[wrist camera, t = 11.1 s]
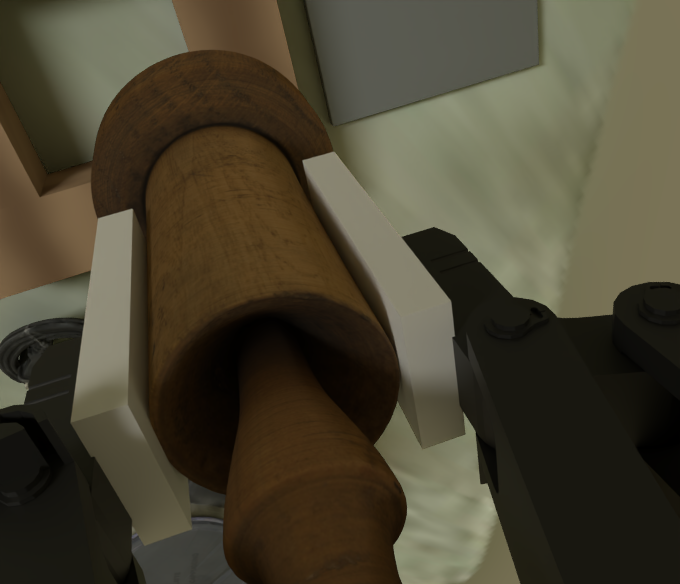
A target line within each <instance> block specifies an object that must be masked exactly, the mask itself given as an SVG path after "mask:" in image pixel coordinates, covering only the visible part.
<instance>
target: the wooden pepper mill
mask: <svg viewBox="0 0 680 584" xmlns="http://www.w3.org/2000/svg"><path fill="white" fill-rule="evenodd" d="M331 152H333V149H332V145H331V142H330V139H329V137H328V134H327V132H326V130H325V128H324V125H323V124H322V122H321V120H320V118H319V117H318V115H317V114H316V112H315V111H314V110H313V108H312V107H311V106H310V104H309V103H308V102H307V100H306V99H305V97H304V96H303V95H302V94H301V92H300V91H299V90H298V89H297V88H296V87H295V86H294V84H293V83H292V82H290V81H289V80H288V79H287V78H286V77H285V76H284V75H282V74H281V73H280V72H278V71H277V70H276V69H274V68H272V67H271V66H269V65H267V64H266V63H264V62H262V61H260V60H258V59H255V58H253V57H250V56H247V55H244V54H241V53H237V52H232V51H225V50H198V51H191V52H187V53H182V54H178V55H175V56H172V57H170V58H167V59H164V60H162V61H160V62H158V63H156V64H154V65H152V66H150V67H148V68H147V69H145V70H144V71H142V72H141V73H139V74H138V75H137V76H135V77H134V78H133V79H132V80H131V81H130V82H128V83H127V84H126V85H125V86H124V87H123V88H122V89H121V91H120V92H119V93H118V94H117V95H116V97H115V98H114V100H113V101H112V102H111V104H110V106H109V107H108V109H107V111H106V113H105V115H104V117H103V119H102V122H101V124H100V127H99V130H98V134H97V138H96V143H95V148H94V155H93V162H92V169H91V193H92V200H93V205H94V209H95V213H96V216H97V219H98V218H101V217H105V216H108V215H112V214H115V213H119V212H122V211H126V210H129V209H133V210H134V213H135V215H136V218H137V220H138V223H139V225H140V227H141V230H142V232H143V235H144V237H145V240H146V242H147V301H148V389H149V392H148V393H149V416H150V423H151V425H152V428H153V430H154V432H155V434H156V436H157V438H158V441H159V443H160V445H161V447H162V449H163V451H164V453H165V455H166V457H167V459H168V461H169V462H170V463H171V465H172V466H173V467H174V468H175V469H176V470H177V471H179V472H180V473H181V474H182V475H183V476H185V477H186V478H188V479H189V480H191V481H192V482H194V483H196V484H198V485H200V486H202V487H204V488H206V489H209V490H211V491H213V492H216V493H220V494H224V495H226V497H225V505H224V518H223V550H224V555H225V559H226V561H227V563H228V565H229V567H230V568H231V570H232V571H233V572H234V574H235V575H236V576H237V577H238V578H239V579H241V580H242V581H244V582H245V583H247V584H402V582H401V580H400V577H399V574H398V570H397V565H396V561H395V556H394V549H393V545H394V544H395V542H396V541H397V539H398V538H399V536H400V534H401V532H402V530H403V527H404V524H405V520H406V516H407V503H406V498H405V495H404V492H403V489H402V487H401V485H400V483H399V481H398V480H397V478H396V477H395V475H394V473H393V472H392V470H391V469H390V467H389V466H388V464H387V463H386V462H385V460H384V459H383V457H382V456H381V454H380V453H379V452H378V451H377V449H376V448H375V447H374V444H375V443H376V442H377V440H378V439H379V438H380V436H381V435H382V434H383V432H384V430H385V428H386V426H387V425H388V423H389V421H390V419H391V417H392V415H393V412H394V409H395V407H396V404H397V399H398V393H399V388H400V371H399V365H398V361H397V357H396V354H395V351H394V349H393V347H392V344H391V343H390V341H389V339H388V337H387V335H386V333H385V332H384V330H383V328H382V326H381V325H380V323H379V321H378V320H377V318H376V316H375V315H374V313H373V311H372V310H371V308H370V306H369V305H368V303H367V301H366V300H365V298H364V296H363V295H362V293H361V291H360V290H359V288H358V286H357V285H356V283H355V281H354V280H353V278H352V276H351V275H350V273H349V271H348V270H347V268H346V266H345V264H344V263H343V261H342V259H341V257H340V256H339V254H338V252H337V251H336V249H335V247H334V245H333V243H332V242H331V240H330V238H329V236H328V235H327V233H326V231H325V229H324V228H323V226H322V224H321V222H320V220H319V219H318V217H317V215H316V213H315V211H314V208H313V204H312V200H311V195H310V191H309V187H308V183H307V178H306V174H305V170H304V166H303V161H302V160H306V159H310V158H313V157H317V156H320V155H324V154H327V153H331Z"/></svg>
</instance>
